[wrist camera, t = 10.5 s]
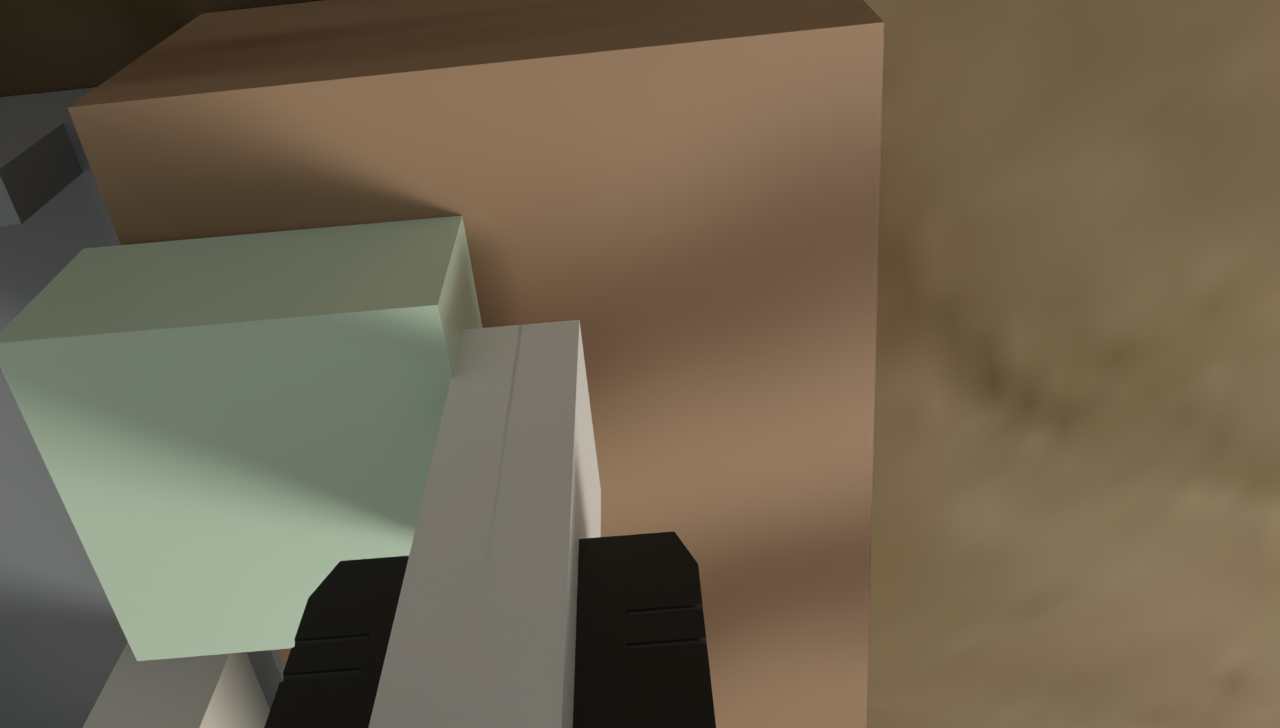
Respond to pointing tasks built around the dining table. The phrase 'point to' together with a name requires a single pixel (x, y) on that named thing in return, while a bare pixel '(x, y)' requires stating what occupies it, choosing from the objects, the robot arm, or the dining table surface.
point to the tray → (9, 458)
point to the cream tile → (181, 694)
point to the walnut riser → (595, 251)
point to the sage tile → (242, 415)
